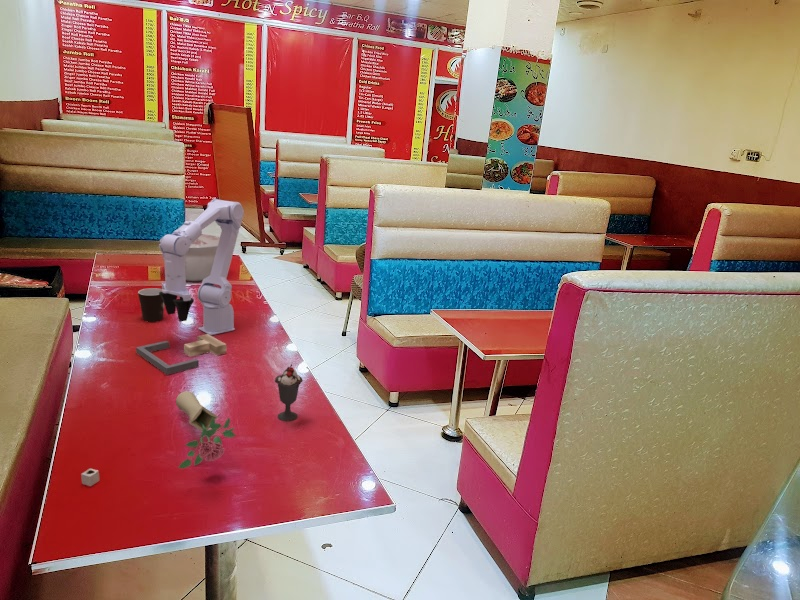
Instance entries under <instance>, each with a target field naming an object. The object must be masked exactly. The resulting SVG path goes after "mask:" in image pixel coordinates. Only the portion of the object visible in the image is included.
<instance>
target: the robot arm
mask: <svg viewBox="0 0 800 600" xmlns="http://www.w3.org/2000/svg"><path fill="white" fill-rule="evenodd" d="M244 214H245V211H244V208H243V205H242V204H241V202H238V201H232V200H230V201H229V200H222V199H219V198H213V199H211V200H210V201H209V202H208V203H207V206H206V209H205V210H204V211H202V212H201V214H200V215H199V216H198V217H196V219H194V220H186V221H184V222H183V224H181V226H179V227H178V228H177V229H176V230H174V231H173V232H172V233H171V234H170V233H168V234H165V235H164V236H162V237H161V238H162V239H161V238H160V239H161V241H160V242H159V244H158V248H159V250H160V252H161V253H162V258H163V261H164V278H165V281H164V282H161V289H163V290H162V292H159V295H160V296H161V298H162V300H163V302H164V309H165V311H166V314H167V315H174V314H176V313H177V317H178V321H179V322H186V321H187V319H188V316H189V312H190V309H191V307H192V305H193V304H194V301H195V300H194V298H193V297H192V294H191V293H190V292H189V291H188V288H187V281H186V274H185V254H187V252H188V250H189V247H190V246H191V243H193V242H194V241H195V240H196V239H197V238H199V237H200V236H201V234H202V233H203V230H204V229H205V228H207V227H208V226H209V225H211V224H213V223H216V224H217V225H218V226H219V227H220V229H221V232H220V239H219V243H218V247H217V251H216V255H215V259H214V262H213V266H212V270H211V274H210V276H208V277H206V278H205V279H203V281H201V284H200V285H199V287H198V290H197V293H196V294H197V299H198V301H199V302H200V303H201V306H202V307H203V309H202V310H203V313H202V315H203V319H202V320H203V325H202V326H199V327H198V330H200V331H201V332H204V333H205V334H209V335H210V336H214V335H218V334H223V333H227V332H228V333H229V332H231V331H235V330H236V328H235V325H234V323H235V313H234V308H233V305H232V304H231V303H230V302H231V299H232V288H233V286H232V284H231V283H230V282H229V280H228V279H227V277H228V274H229V270H230V267H231V266H230V265H231V264H232V259H233V254H234V252H235V246H236V242H237V239H238V235H239V231H240V229H241V227H242V222H243V218H244ZM176 311H177V312H176Z"/></svg>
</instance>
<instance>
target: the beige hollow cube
mask: <svg viewBox="0 0 800 600" xmlns="http://www.w3.org/2000/svg"><path fill="white" fill-rule="evenodd" d="M80 476H81V484H82V485H84V486H87V487H92V486H94V485H95V484H97V483H98V482H100V473H99V470H98V469H95V468H94V469H93V468H88V469H87V470H85V471H83V472H82V473H80Z"/></svg>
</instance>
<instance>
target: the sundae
mask: <svg viewBox="0 0 800 600" xmlns="http://www.w3.org/2000/svg"><path fill="white" fill-rule="evenodd" d="M292 366H293V364H292V363H290V366H287V368H286V369H285V370H283V373H282V374H279V375H277V376H276V377H275V379H274V383H276V385H277V387H278V397H279V401H280V402H281V403H282V404H284V407H285V408H284V411H282V412H280V413H278V414H277V419H278V420H280V421H282V422H292V421H295V420H297V419H298V418H299V416H298V414H297V413H296V412H294V411H291V405H292V404H293V403H295V402H296V401H297V398H298V395H299V394H298V393H299V387H300V385H301V383H302V382H303V381H304V380H303V378H302V377H301V376H300V375H299V374H298V372H297V371H296V370H295V369H294V367H292Z"/></svg>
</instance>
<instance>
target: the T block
mask: <svg viewBox="0 0 800 600" xmlns="http://www.w3.org/2000/svg"><path fill="white" fill-rule="evenodd" d="M207 352H208V353H210V352H211V354H212V353H213V354H212V355H214V356H215V355H218V356H221V355H220V354H222V355H225V353H226V354H227V343H225V342H224V341H223V342H222V340H220V339H217V338H215V336H213V335H209V334H207V333H205V334H202V335H201V334H200V335H197V340H196V341H192V342H188V343H185V344H183V354H184V353H185V354H184V355H186V356H187V355H188V357H189V358H191V357H197V356H200V355H204V354H208V353H207ZM203 353H204V354H203Z"/></svg>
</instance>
